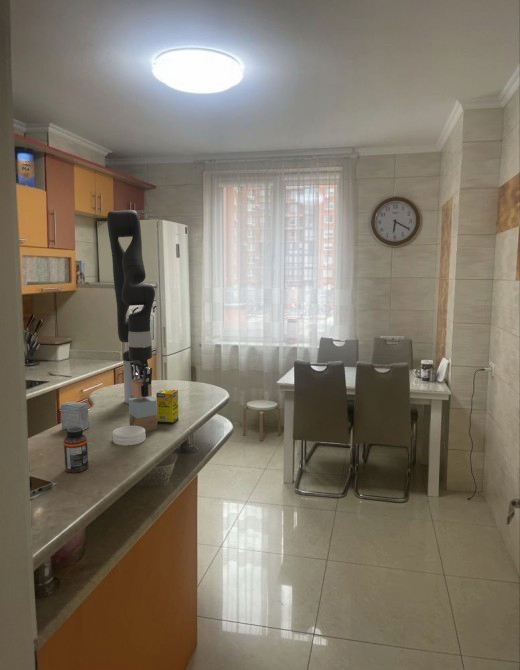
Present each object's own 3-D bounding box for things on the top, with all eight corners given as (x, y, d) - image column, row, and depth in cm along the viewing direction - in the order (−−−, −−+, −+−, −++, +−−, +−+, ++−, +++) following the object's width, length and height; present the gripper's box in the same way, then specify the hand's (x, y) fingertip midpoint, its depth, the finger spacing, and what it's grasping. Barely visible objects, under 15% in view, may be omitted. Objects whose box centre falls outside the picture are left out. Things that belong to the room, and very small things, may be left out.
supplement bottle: (68, 465, 146) (66, 425, 145) (90, 464, 147) (88, 425, 145) (62, 473, 141) (60, 433, 139) (85, 473, 141) (83, 432, 139)
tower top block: (129, 413, 178) (128, 398, 178) (148, 409, 182) (148, 395, 182) (136, 418, 173) (136, 403, 172) (156, 414, 177) (156, 400, 176)
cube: (131, 395, 177) (131, 380, 176) (146, 393, 180) (145, 378, 179) (137, 398, 173) (136, 383, 172) (151, 396, 176) (151, 381, 175)
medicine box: (89, 428, 178) (88, 403, 177) (81, 432, 174) (80, 406, 173) (70, 425, 181) (69, 401, 180) (61, 429, 177) (60, 404, 175)
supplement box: (173, 424, 182) (172, 393, 180) (156, 423, 183) (155, 392, 181) (179, 419, 188) (178, 389, 186) (163, 418, 189) (162, 388, 187)
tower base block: (129, 427, 179) (129, 413, 178) (149, 423, 183) (148, 409, 182) (137, 433, 173) (136, 418, 173) (157, 429, 177) (156, 414, 176)
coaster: (106, 443, 164) (105, 432, 163) (126, 433, 173) (125, 423, 172) (132, 448, 160) (132, 437, 159) (152, 437, 169) (151, 427, 168)
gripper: (121, 342, 178) (123, 391, 180) (137, 348, 166) (139, 401, 168) (142, 340, 182) (144, 388, 184) (159, 346, 170) (161, 397, 173)
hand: (141, 394), depth 176 cm, fingers closed on cube, 5 cm apart
